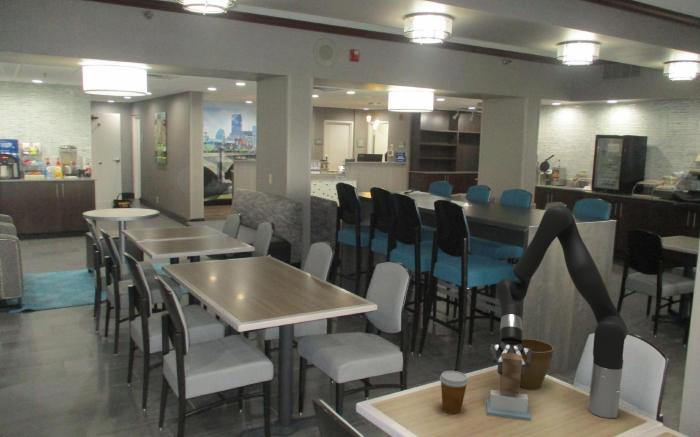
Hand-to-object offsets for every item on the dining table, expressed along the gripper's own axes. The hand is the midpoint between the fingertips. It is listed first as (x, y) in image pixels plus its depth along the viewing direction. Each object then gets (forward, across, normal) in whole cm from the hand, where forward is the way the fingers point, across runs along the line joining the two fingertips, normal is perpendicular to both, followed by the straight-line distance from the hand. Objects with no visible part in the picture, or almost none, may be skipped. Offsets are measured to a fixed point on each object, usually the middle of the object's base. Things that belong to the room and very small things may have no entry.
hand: (511, 375), depth 186 cm
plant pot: (-9, +10, +28) cm, 31 cm away
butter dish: (+8, 0, +11) cm, 14 cm away
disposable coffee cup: (+12, -19, +8) cm, 23 cm away
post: (+3, 0, +5) cm, 6 cm away
